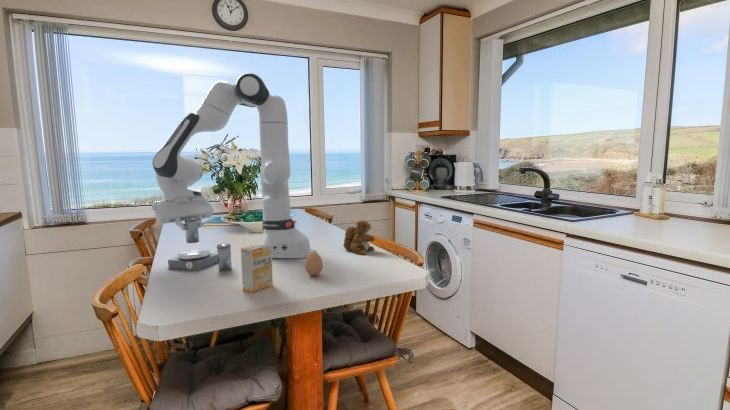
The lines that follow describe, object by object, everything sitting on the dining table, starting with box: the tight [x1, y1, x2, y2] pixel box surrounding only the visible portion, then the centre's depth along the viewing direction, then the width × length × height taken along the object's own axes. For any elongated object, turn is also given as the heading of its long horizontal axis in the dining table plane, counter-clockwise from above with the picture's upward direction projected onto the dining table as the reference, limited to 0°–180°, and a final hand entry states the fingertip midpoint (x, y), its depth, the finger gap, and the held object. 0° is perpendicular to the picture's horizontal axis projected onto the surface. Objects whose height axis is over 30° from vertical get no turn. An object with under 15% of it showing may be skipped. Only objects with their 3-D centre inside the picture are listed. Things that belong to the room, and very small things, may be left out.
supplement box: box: [240, 242, 274, 293], centre depth 116 cm, size 8×5×13 cm, turn 148°
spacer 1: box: [183, 217, 200, 244], centre depth 142 cm, size 5×5×9 cm
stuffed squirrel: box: [342, 219, 375, 256], centre depth 160 cm, size 10×14×13 cm
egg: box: [304, 252, 324, 277], centre depth 128 cm, size 6×6×8 cm
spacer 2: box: [216, 242, 233, 272], centre depth 136 cm, size 5×5×9 cm
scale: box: [167, 252, 218, 271], centre depth 143 cm, size 13×13×3 cm
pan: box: [177, 249, 211, 260], centre depth 143 cm, size 11×11×1 cm
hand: (192, 227), depth 141 cm, fingers closed on spacer 1, 4 cm apart
